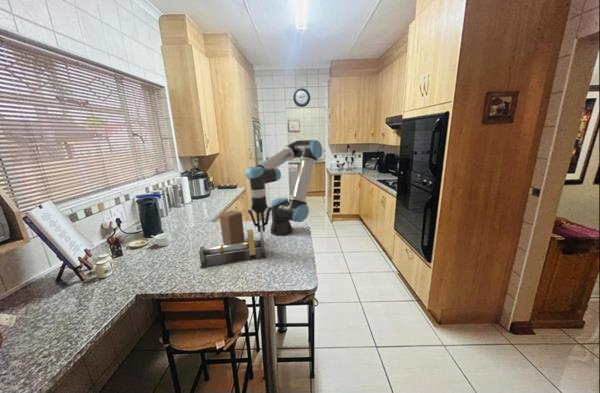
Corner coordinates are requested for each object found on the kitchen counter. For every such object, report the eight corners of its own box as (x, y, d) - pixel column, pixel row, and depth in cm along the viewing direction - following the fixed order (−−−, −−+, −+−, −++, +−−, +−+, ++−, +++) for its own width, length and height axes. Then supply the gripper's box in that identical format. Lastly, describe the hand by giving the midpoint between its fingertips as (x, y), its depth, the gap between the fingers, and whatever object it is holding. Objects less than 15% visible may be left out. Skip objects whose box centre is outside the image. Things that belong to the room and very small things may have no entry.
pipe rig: (263, 248, 147) (262, 235, 145) (266, 257, 136) (264, 243, 134) (203, 257, 139) (201, 244, 137) (200, 268, 128) (198, 254, 126)
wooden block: (232, 248, 150) (228, 216, 144) (222, 244, 155) (218, 213, 150) (245, 241, 157) (242, 212, 152) (235, 238, 163) (231, 209, 158)
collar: (254, 248, 144) (252, 228, 141) (255, 254, 136) (253, 233, 133) (248, 249, 143) (246, 229, 140) (249, 255, 135) (247, 234, 132)
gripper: (269, 193, 138) (272, 232, 144) (245, 195, 135) (249, 236, 141) (271, 196, 131) (274, 237, 137) (246, 199, 128) (250, 241, 134)
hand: (262, 236), depth 139 cm, fingers closed
